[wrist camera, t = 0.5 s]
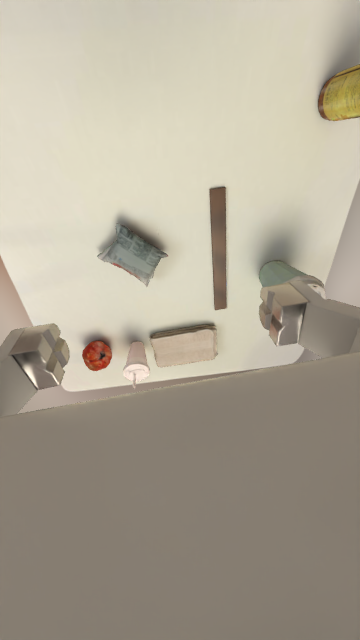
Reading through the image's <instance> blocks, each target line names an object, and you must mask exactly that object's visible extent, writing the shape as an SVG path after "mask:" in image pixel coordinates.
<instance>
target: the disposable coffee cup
mask: <svg viewBox="0 0 360 640" xmlns="http://www.w3.org/2000/svg"><path fill="white" fill-rule="evenodd" d="M259 279H260V282H261V284H262V286H263V287H267V286H272V285H277V284H282V283H287V282H292V281H296V280H302V281H304V282H305V283H306V284H307V285H308V286H309V287H311V288H312V289H313V290H314V291H315V292H317V293H318V294H319V295H320V296H321V297H322V298H324V299H326V293H325V289H324V284H323V283H322V282H321V281H320V280H318V279H317V278H315V277H314V276H310V275H307V274H305V273H303V272H301V271H299V270H297V269H295V268H293V267H291V266H289V265H287V264H285V263H283V262H281V261H271V262H269V263H267V264H265V265H264V266H263V268H262V269H261V270H260V275H259Z"/></svg>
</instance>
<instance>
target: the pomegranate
mask: <svg viewBox="0 0 360 640" xmlns="http://www.w3.org/2000/svg"><path fill="white" fill-rule="evenodd" d="M82 357H83V359H84V362H85V364H86V366H87V367H88V368H89V369H90V370H93V371H98V370H101V369H103V368H106V367H107V366H108V365H109V363H110V360H111V358H112V352H111V349H110V347H109V346H107V345H105V344H104V343H103V342H101V341H93V342H91V343H89V344H88V345H87V346H86V348H85V349H84V350H83V354H82Z"/></svg>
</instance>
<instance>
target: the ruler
mask: <svg viewBox="0 0 360 640" xmlns="http://www.w3.org/2000/svg"><path fill="white" fill-rule="evenodd" d="M210 211H211V234H212V258H213V282H214V305H215V310H219V309H225V308H226V188H225V187H222V188H216V189H210Z"/></svg>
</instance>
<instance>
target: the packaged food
mask: <svg viewBox="0 0 360 640" xmlns="http://www.w3.org/2000/svg"><path fill="white" fill-rule="evenodd" d="M116 233H117V240H116V241H115V242H114V243H113V244H112V245H110V246H109V247H108V248H107V249H106V250H104V251H103V252H102V253H100V254H99V255H98V258H99V259H100V260H102V261H104V262H109V263H111V264H113V265H115V266H117V267H119V268H122V269H124V270H125V271H127V272H129V273H130V274H131V275H134V276H135V277H136V278H138V279H139V280H140V281H142V282H143V283H144V284H145V285H146V286H148V283H149V281H150V279H151V278H153V274H154V270H155V268H156V266H157V265H158V263H159V261H160V259H161V258H164V257H168V255H167V254H166V253H164V252H163V251H161V250H159V249H158V248H156V247H155V246H153V245H151V244H149V243H147V242H146V241H145V240H142V239H141V238H140V237H138V236H137V235H135V233H133V232H132V231H131V230H129V229H128V228H127V227H125V226H123V225H121V224H118V223H117V225H116Z"/></svg>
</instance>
